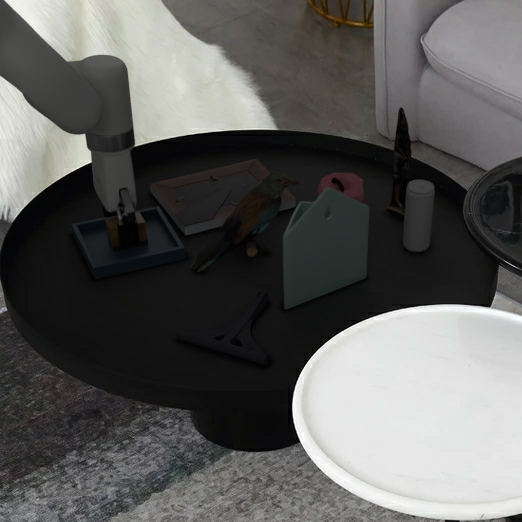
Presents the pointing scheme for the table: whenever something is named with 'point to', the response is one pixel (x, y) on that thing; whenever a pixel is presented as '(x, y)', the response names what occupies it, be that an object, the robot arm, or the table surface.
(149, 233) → the tray
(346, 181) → the apple
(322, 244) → the planter
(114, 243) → the brown wooden block
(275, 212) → the bird figurine
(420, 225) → the beverage can
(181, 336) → the bracket
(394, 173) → the statue
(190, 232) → the picture frame
